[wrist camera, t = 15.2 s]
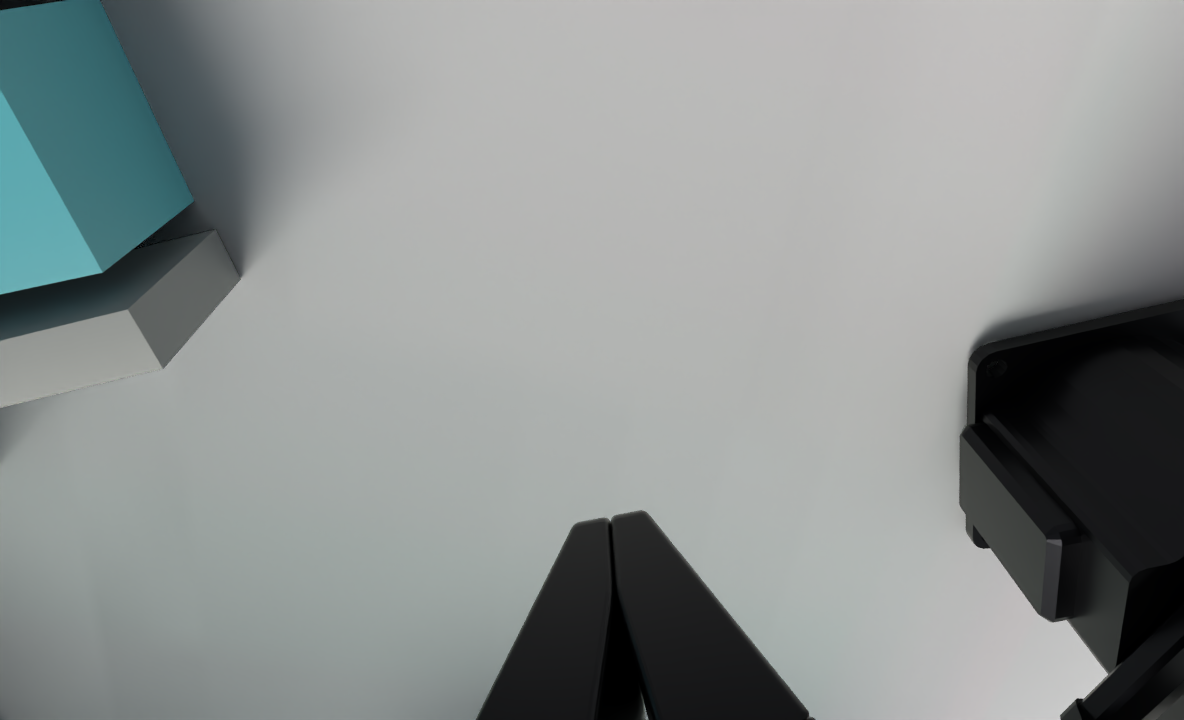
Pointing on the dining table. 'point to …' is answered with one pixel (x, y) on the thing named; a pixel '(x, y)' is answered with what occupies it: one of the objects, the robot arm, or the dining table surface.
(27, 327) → the socket
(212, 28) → the dining table surface
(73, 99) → the plug
